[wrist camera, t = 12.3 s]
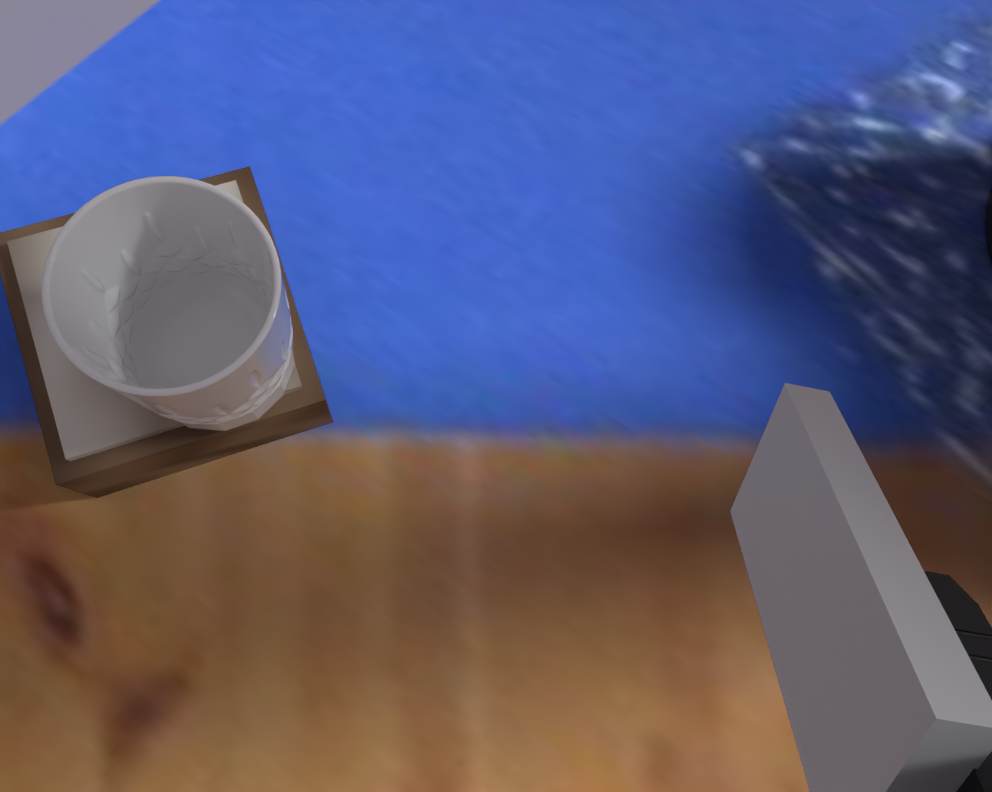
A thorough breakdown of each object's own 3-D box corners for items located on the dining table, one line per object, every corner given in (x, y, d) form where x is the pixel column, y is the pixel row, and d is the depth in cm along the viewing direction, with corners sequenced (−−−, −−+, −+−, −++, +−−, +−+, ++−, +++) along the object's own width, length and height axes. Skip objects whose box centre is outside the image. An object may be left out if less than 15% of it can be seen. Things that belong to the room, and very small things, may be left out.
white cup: (93, 332, 40) (-4, 247, 30) (249, 243, 42) (204, 136, 32) (186, 479, 39) (116, 441, 29) (342, 383, 41) (324, 316, 31)
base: (265, 213, 48) (247, 160, 43) (333, 421, 46) (324, 396, 41) (36, 276, 46) (-16, 230, 41) (96, 497, 44) (51, 483, 39)
